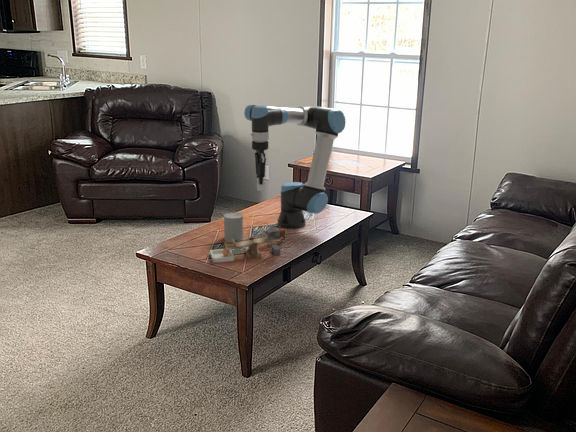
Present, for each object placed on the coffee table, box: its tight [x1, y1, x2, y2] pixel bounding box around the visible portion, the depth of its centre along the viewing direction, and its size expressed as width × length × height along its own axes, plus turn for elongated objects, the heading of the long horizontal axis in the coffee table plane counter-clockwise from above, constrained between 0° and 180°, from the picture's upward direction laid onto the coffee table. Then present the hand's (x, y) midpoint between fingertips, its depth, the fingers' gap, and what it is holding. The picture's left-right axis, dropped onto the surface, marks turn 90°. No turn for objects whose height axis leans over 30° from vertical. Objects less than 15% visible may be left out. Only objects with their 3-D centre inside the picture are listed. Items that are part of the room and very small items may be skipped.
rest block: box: [270, 244, 282, 256], centre depth 278 cm, size 3×6×2 cm, turn 16°
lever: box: [224, 227, 282, 251], centre depth 273 cm, size 26×6×5 cm, turn 105°
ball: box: [222, 248, 230, 256], centre depth 272 cm, size 4×4×4 cm
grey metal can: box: [223, 211, 244, 243], centre depth 294 cm, size 10×10×12 cm
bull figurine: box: [259, 227, 287, 246], centre depth 289 cm, size 4×13×8 cm, turn 113°
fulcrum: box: [244, 236, 262, 259], centre depth 275 cm, size 6×8×7 cm
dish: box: [209, 248, 235, 264], centre depth 272 cm, size 10×11×2 cm
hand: (260, 190), depth 273 cm, fingers closed
